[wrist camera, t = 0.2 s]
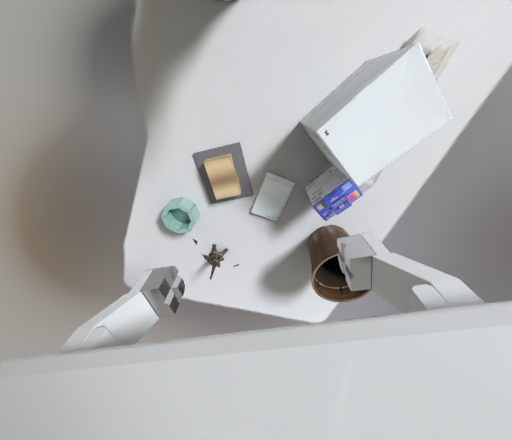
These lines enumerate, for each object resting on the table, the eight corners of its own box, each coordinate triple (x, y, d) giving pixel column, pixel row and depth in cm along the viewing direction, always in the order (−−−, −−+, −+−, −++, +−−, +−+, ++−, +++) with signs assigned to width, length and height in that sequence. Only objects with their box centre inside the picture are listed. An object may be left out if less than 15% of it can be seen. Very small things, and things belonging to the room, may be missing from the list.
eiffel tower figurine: (192, 237, 68) (177, 265, 57) (221, 227, 66) (212, 255, 55) (213, 271, 75) (204, 303, 63) (240, 263, 73) (236, 295, 61)
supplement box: (330, 163, 55) (356, 189, 40) (298, 121, 51) (313, 132, 35) (395, 112, 49) (457, 118, 33) (365, 59, 45) (421, 38, 29)
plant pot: (319, 209, 62) (335, 242, 48) (366, 229, 64) (395, 266, 50) (292, 251, 69) (299, 291, 55) (336, 267, 72) (353, 309, 58)
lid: (206, 159, 55) (203, 162, 52) (230, 153, 54) (229, 156, 52) (218, 195, 60) (216, 199, 57) (241, 190, 59) (240, 194, 56)
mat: (193, 153, 55) (193, 153, 54) (239, 142, 53) (239, 142, 53) (211, 202, 62) (211, 203, 61) (252, 194, 60) (252, 195, 59)
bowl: (163, 201, 62) (156, 208, 58) (192, 195, 61) (187, 201, 57) (175, 227, 66) (170, 235, 62) (202, 221, 65) (199, 229, 61)
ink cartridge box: (315, 202, 60) (327, 227, 47) (303, 188, 59) (311, 210, 46) (347, 178, 57) (368, 199, 44) (334, 163, 55) (353, 179, 42)
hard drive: (276, 221, 63) (296, 183, 57) (250, 212, 62) (267, 172, 56) (276, 219, 64) (295, 181, 58) (250, 209, 63) (267, 170, 57)
